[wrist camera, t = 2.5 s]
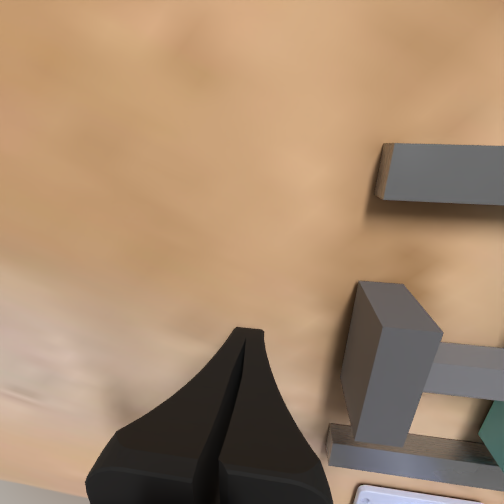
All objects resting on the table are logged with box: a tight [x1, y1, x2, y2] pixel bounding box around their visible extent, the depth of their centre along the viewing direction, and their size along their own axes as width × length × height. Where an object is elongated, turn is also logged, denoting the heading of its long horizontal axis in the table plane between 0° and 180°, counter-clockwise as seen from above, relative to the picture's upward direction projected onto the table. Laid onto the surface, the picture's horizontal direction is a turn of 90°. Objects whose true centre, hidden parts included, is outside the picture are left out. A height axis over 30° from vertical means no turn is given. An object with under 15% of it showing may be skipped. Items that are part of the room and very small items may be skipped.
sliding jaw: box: [340, 281, 504, 473], centre depth 12 cm, size 12×10×4 cm
